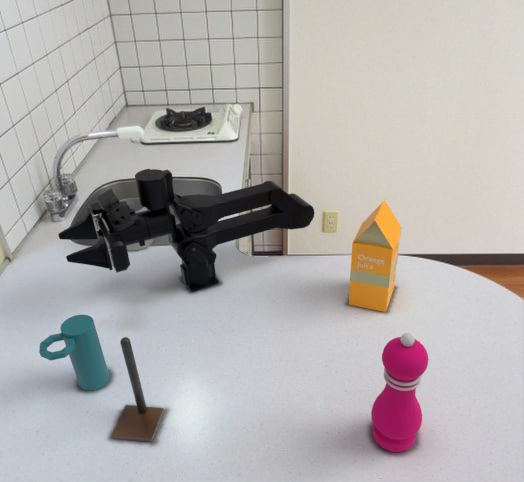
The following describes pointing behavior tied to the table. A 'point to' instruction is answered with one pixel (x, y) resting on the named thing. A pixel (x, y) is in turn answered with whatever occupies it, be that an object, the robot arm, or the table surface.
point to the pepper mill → (399, 394)
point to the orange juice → (375, 260)
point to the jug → (80, 351)
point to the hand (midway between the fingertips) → (62, 247)
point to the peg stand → (136, 417)
